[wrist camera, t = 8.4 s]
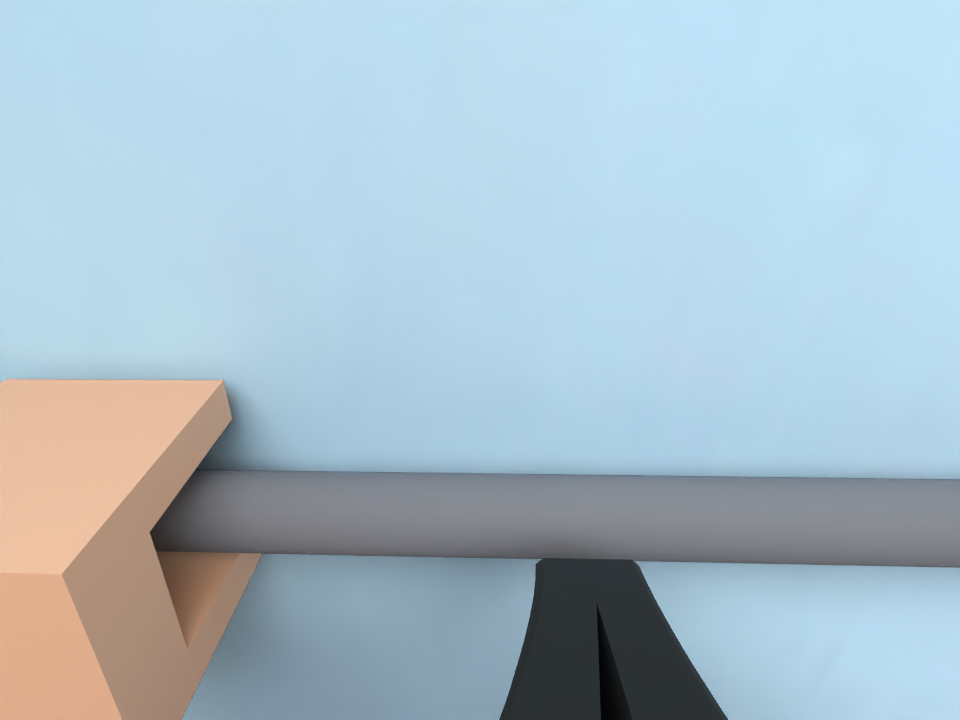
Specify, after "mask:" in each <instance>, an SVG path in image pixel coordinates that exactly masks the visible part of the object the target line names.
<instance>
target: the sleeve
mask: <svg viewBox="0 0 960 720" xmlns="http://www.w3.org/2000/svg"><path fill="white" fill-rule="evenodd" d="M231 420H232V415H231V411H230V407H229V402H228V398H227V394H226V389H225V385H224V380H62V379H6V380H4V381H3V382H1V383H0V720H182V718H183V716H184V714H185V712H186V710H187V708H188V705H189V703H190V701H191V699H192V697H193V695H194V693H195V691H196V689H197V687H198V685H199V683H200V681H201V679H202V677H203V675H204V673H205V671H206V668H207V666H208V664H209V662H210V660H211V658H212V656H213V654H214V652H215V650H216V648H217V646H218V644H219V642H220V640H221V638H222V636H223V634H224V632H225V629H226V627H227V625H228V623H229V621H230V619H231V617H232V615H233V613H234V611H235V609H236V607H237V605H238V603H239V601H240V599H241V597H242V595H243V592H244V590H245V588H246V586H247V584H248V582H249V580H250V578H251V576H252V574H253V572H254V570H255V568H256V566H257V564H258V562H259V560H260V558H261V555H262V553H215V552H166V551H156V550H155V547H154V544H153V541H152V538H151V535H150V531H151V530H152V528H153V527H154V525H155V524H156V523H157V521H158V520H159V519H160V517H161V516H162V515H163V513H164V512H165V510H166V509H167V508H168V506H169V505H170V504H171V502H172V501H173V499H174V498H175V497H176V495H177V494H178V493H179V491H180V490H181V488H182V487H183V486H184V484H185V483H186V482H187V480H188V479H189V478H190V476H191V475H192V473H193V472H194V471H195V469H196V468H197V467H198V465H199V464H200V462H201V461H202V460H203V458H204V457H205V456H206V454H207V453H208V452H209V450H210V449H211V447H212V446H213V445H214V443H215V442H216V441H217V439H218V438H219V436H220V435H221V434H222V432H223V431H224V430H225V428H226V427H227V425H228V424H229V423H230V421H231Z"/></svg>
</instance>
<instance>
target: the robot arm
mask: <svg viewBox="0 0 960 720" xmlns="http://www.w3.org/2000/svg"><path fill="white" fill-rule="evenodd" d="M499 720H728V719H727V717H726V716H725V714H724V713H723V711H722V710H721V708H720V707H719V705H718V703H717V702H716V700H715V699H714V697H713V696H712V694H711V692H710V691H709V689H708V688H707V686H706V685H705V683H704V682H703V680H702V678H701V677H700V675H699V674H698V672H697V671H696V669H695V668H694V666H693V664H692V663H691V661H690V659H689V658H688V656H687V654H686V653H685V651H684V649H683V648H682V646H681V644H680V643H679V641H678V639H677V638H676V636H675V634H674V632H673V631H672V629H671V627H670V625H669V624H668V622H667V620H666V618H665V617H664V615H663V613H662V611H661V609H660V607H659V606H658V604H657V602H656V600H655V598H654V596H653V594H652V592H651V590H650V588H649V586H648V584H647V582H646V580H645V578H644V576H643V574H642V572H641V570H640V567H639V566H638V565H637V564H636V563H635V562H634V561H633V560H625V559H573V558H543V559H542V560H541V561H539V562H538V563H537V564H536V581H535V590H534V597H533V604H532V609H531V614H530V619H529V623H528V627H527V631H526V636H525V640H524V644H523V647H522V651H521V654H520V657H519V661H518V664H517V667H516V671H515V674H514V678H513V681H512V684H511V688H510V691H509V694H508V697H507V700H506V703H505V706H504V708H503V711H502V714H501V717H500V719H499Z"/></svg>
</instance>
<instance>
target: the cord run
mask: <svg viewBox="0 0 960 720" xmlns="http://www.w3.org/2000/svg"><path fill="white" fill-rule="evenodd" d="M150 535H151V538H152V541H153V544H154V547H155V550H156V551H166V552H215V553H265V554H315V555H364V556H414V557H464V558H513V559H543V558H573V559H625V560H633V561H662V562H712V563H762V564H811V565H861V566H911V567H960V480H955V479H876V478H797V477H718V476H639V475H560V474H482V473H403V472H324V471H245V470H195V471H194V472H193V473H192V475H191V476H190V478H189V479H188V480H187V482H186V483H185V484H184V486H183V487H182V488H181V490H180V491H179V493H178V494H177V495H176V497H175V498H174V499H173V501H172V502H171V504H170V505H169V506H168V508H167V509H166V510H165V512H164V513H163V515H162V516H161V517H160V519H159V520H158V521H157V523H156V524H155V525H154V527H153V528H152V530H151V531H150Z"/></svg>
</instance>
